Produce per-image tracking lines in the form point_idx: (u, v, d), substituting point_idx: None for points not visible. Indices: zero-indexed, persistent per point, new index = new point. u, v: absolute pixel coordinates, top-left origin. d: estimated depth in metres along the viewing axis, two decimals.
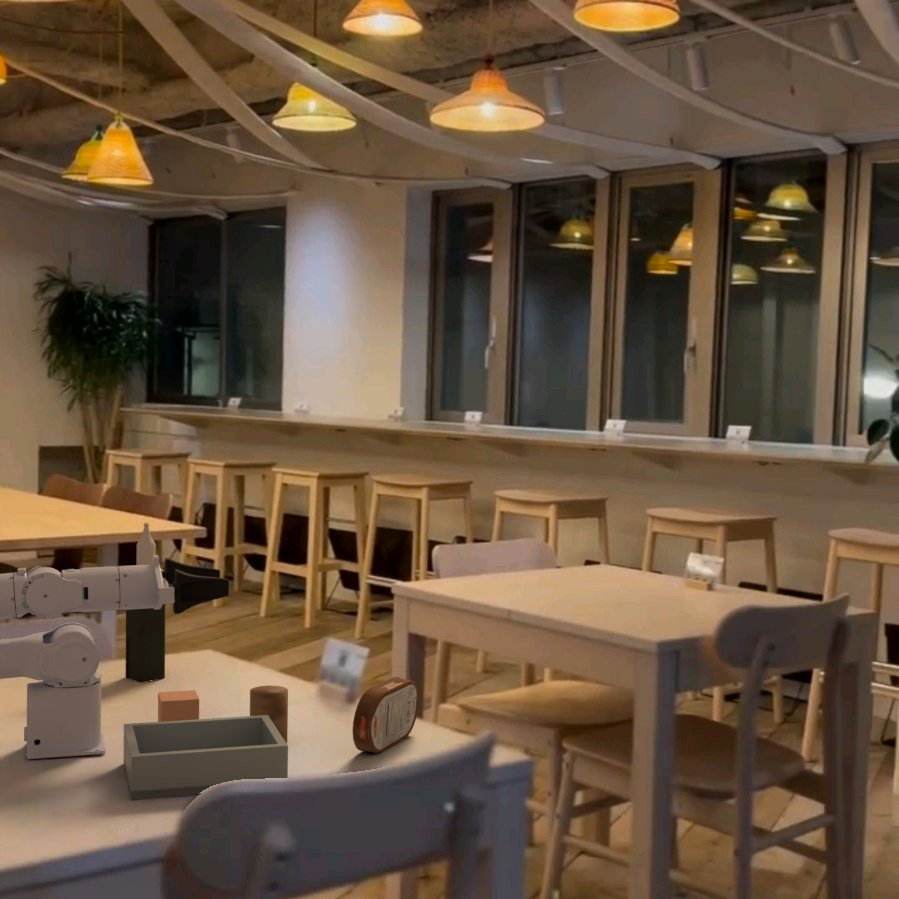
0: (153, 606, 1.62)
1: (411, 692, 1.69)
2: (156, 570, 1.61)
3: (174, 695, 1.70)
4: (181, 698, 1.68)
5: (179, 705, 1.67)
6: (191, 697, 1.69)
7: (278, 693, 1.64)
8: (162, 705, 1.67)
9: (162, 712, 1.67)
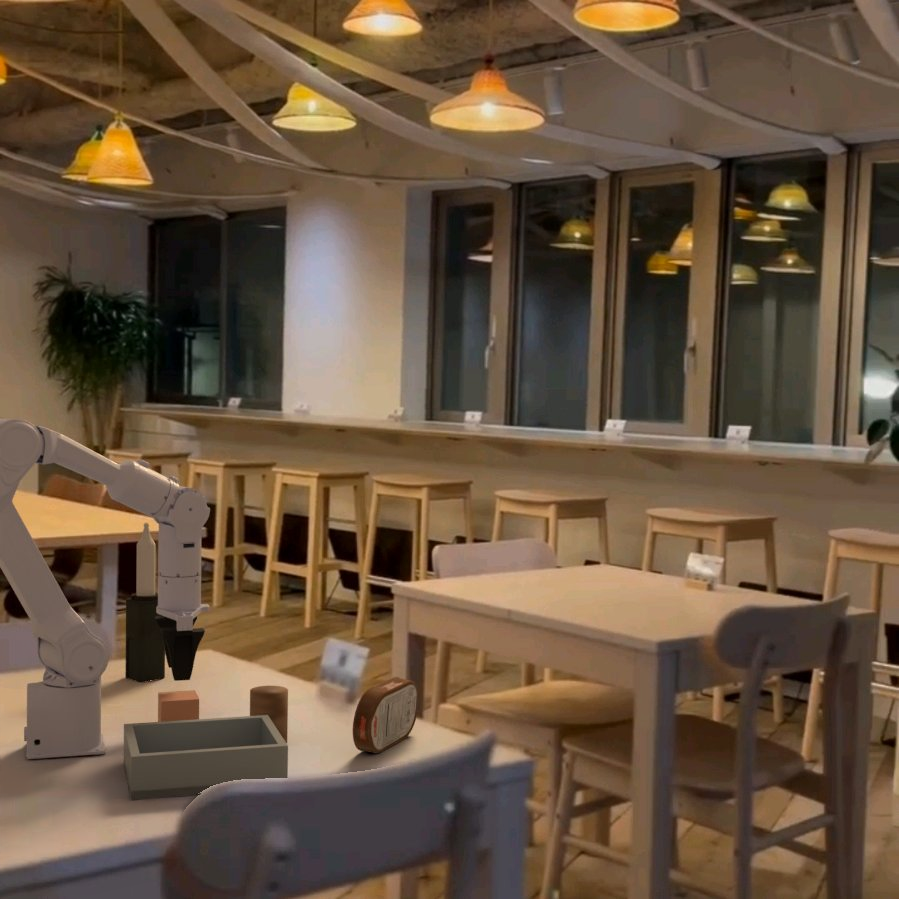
0: (162, 607, 1.67)
1: (411, 692, 1.69)
2: (199, 610, 1.68)
3: (174, 695, 1.70)
4: (181, 698, 1.68)
5: (179, 705, 1.67)
6: (191, 697, 1.69)
7: (278, 693, 1.64)
8: (162, 705, 1.67)
9: (162, 712, 1.67)
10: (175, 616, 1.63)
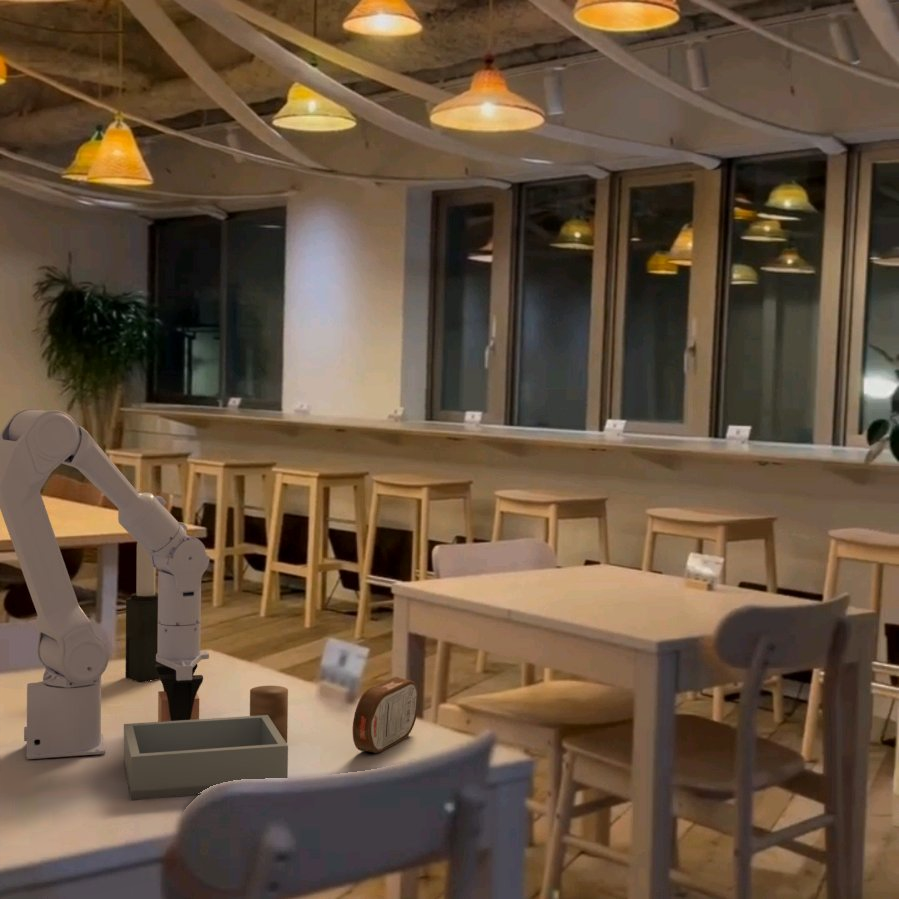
0: (162, 656, 1.67)
1: (411, 692, 1.69)
2: (199, 658, 1.68)
3: None
4: None
5: None
6: None
7: (278, 693, 1.64)
8: (162, 704, 1.67)
9: (162, 711, 1.67)
10: (174, 665, 1.63)
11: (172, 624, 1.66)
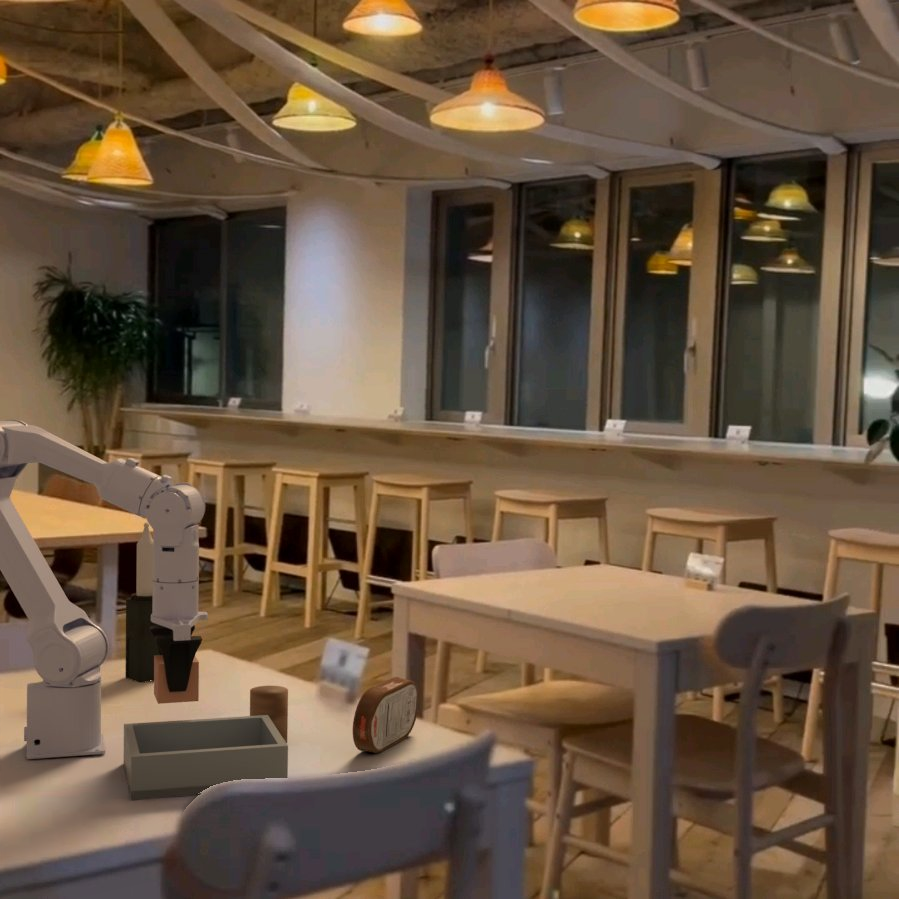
0: (157, 615, 1.56)
1: (411, 692, 1.69)
2: (197, 618, 1.57)
3: None
4: None
5: None
6: None
7: (278, 693, 1.64)
8: (159, 668, 1.55)
9: (159, 676, 1.55)
10: (171, 625, 1.52)
11: (154, 580, 1.56)
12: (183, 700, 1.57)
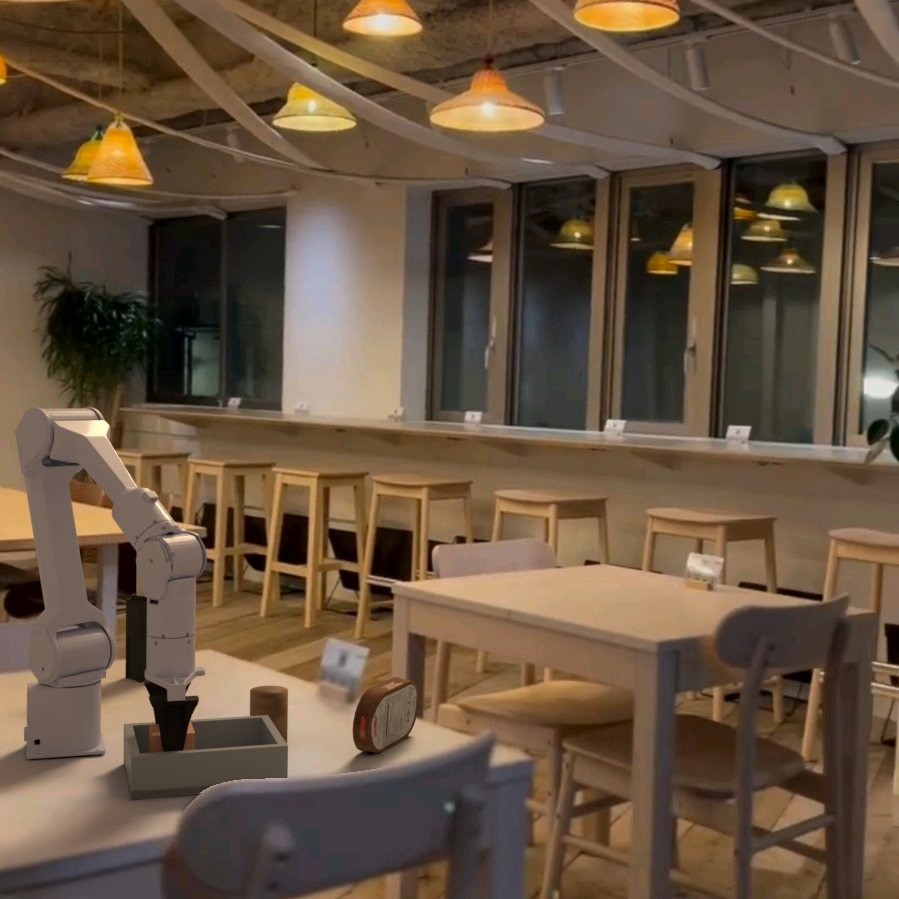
0: (151, 672, 1.47)
1: (411, 692, 1.69)
2: (193, 675, 1.48)
3: None
4: None
5: None
6: None
7: (278, 693, 1.64)
8: (153, 740, 1.47)
9: (153, 748, 1.47)
10: (165, 684, 1.43)
11: None
12: None
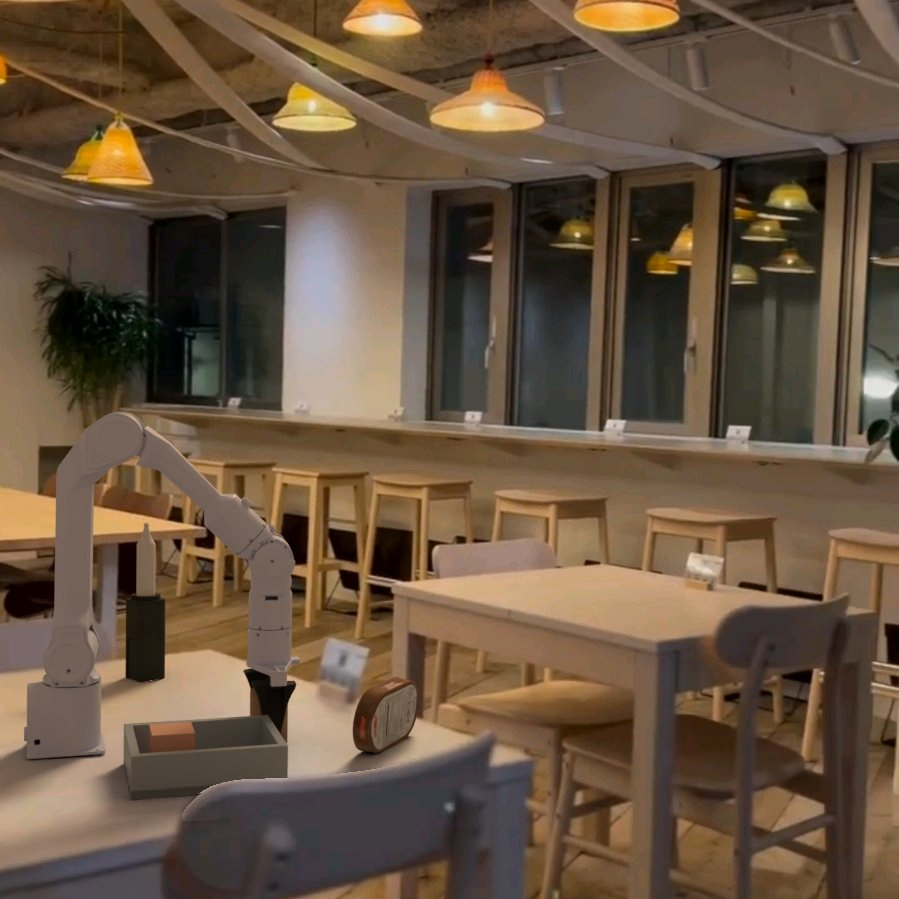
0: (253, 661, 1.63)
1: (411, 692, 1.69)
2: (290, 663, 1.64)
3: (167, 728, 1.50)
4: (175, 732, 1.48)
5: (172, 739, 1.47)
6: (186, 731, 1.49)
7: None
8: (153, 740, 1.47)
9: (153, 748, 1.47)
10: (268, 671, 1.59)
11: (255, 628, 1.63)
12: None
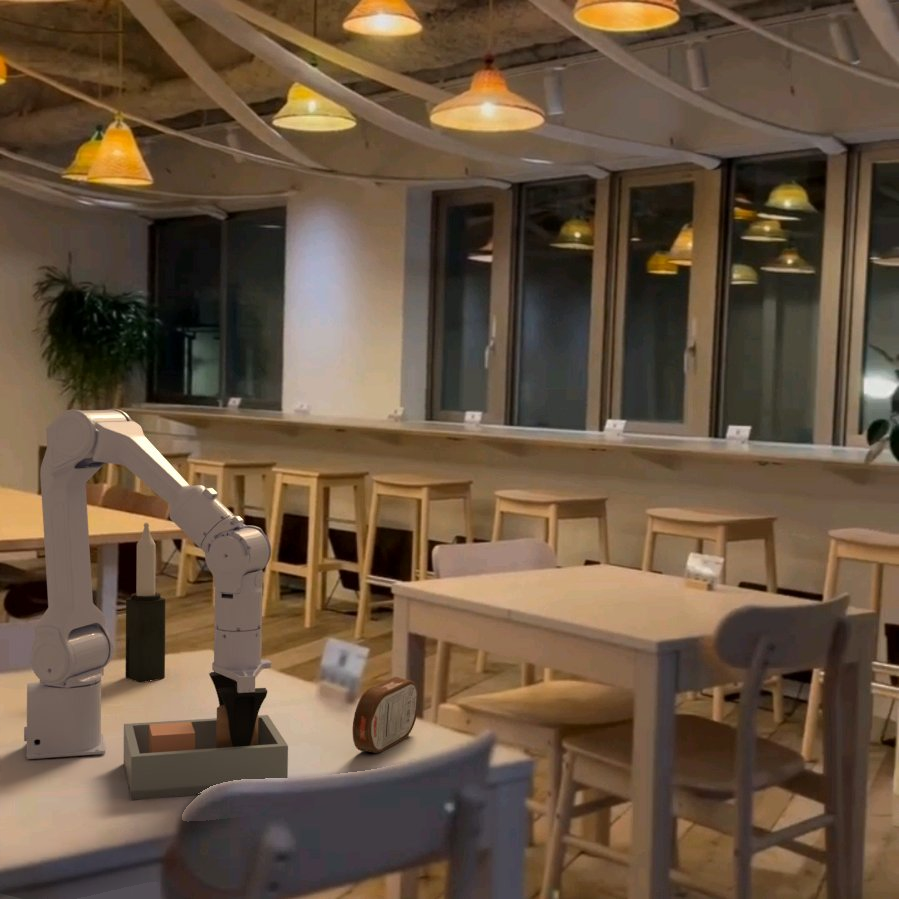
0: (219, 665, 1.50)
1: (411, 692, 1.69)
2: (260, 667, 1.51)
3: (167, 728, 1.50)
4: (175, 732, 1.48)
5: (172, 739, 1.47)
6: (186, 731, 1.49)
7: None
8: (153, 740, 1.47)
9: (153, 748, 1.47)
10: (235, 676, 1.46)
11: (215, 626, 1.50)
12: None
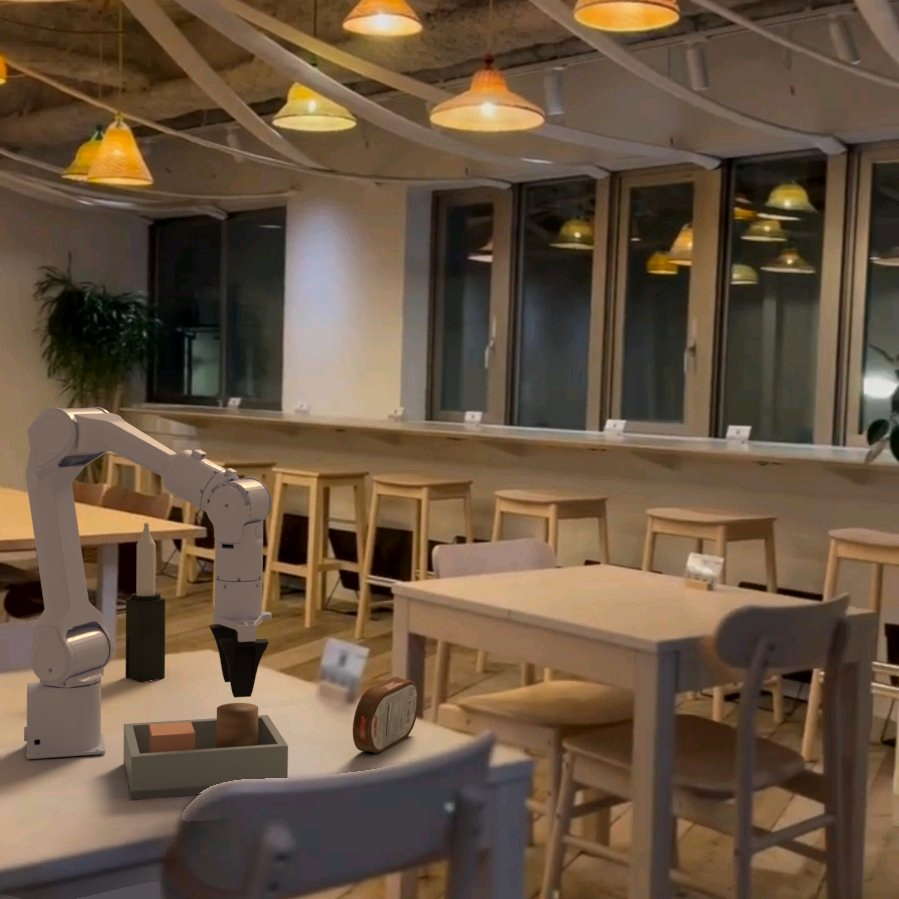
0: (220, 615, 1.49)
1: (411, 692, 1.69)
2: (261, 618, 1.50)
3: (167, 728, 1.50)
4: (175, 732, 1.48)
5: (172, 739, 1.47)
6: (186, 731, 1.49)
7: (247, 711, 1.51)
8: (153, 740, 1.47)
9: (153, 748, 1.47)
10: (236, 625, 1.46)
11: (215, 577, 1.50)
12: None
